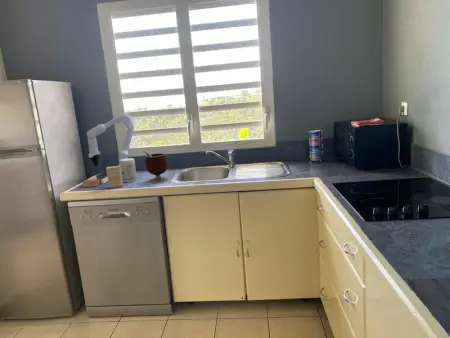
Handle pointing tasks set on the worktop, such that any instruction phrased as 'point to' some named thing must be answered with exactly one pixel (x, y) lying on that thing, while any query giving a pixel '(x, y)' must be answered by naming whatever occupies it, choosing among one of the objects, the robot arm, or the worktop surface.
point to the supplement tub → (128, 170)
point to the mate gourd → (156, 166)
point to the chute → (101, 180)
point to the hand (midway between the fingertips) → (96, 165)
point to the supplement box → (114, 176)
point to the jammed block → (90, 183)
